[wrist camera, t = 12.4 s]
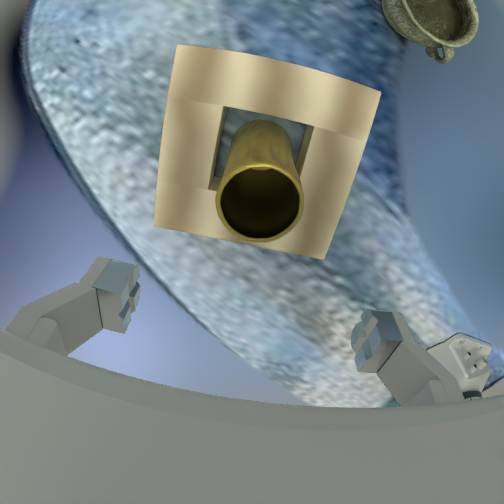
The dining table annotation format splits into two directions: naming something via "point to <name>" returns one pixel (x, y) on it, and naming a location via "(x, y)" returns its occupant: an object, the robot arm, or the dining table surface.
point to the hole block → (266, 102)
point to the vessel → (434, 23)
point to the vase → (260, 184)
